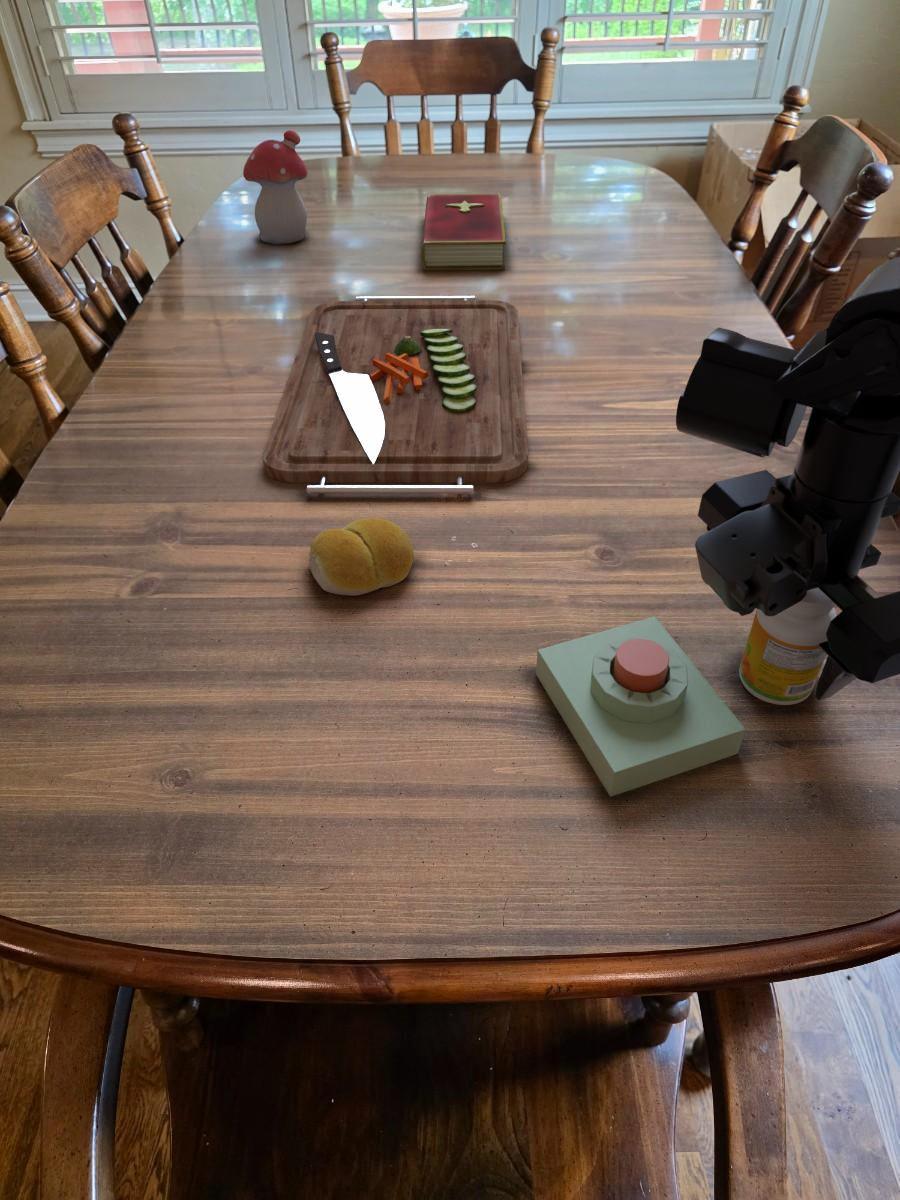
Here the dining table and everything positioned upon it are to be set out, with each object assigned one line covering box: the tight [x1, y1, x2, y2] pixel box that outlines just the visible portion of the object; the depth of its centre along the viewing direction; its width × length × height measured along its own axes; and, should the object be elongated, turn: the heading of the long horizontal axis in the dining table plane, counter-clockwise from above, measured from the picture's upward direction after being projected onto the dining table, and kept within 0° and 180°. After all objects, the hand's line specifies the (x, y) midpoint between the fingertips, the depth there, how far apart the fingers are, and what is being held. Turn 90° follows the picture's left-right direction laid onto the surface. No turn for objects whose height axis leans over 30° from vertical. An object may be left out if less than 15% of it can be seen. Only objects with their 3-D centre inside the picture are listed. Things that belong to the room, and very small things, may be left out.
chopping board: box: [262, 295, 529, 495], centre depth 99 cm, size 45×27×3 cm, turn 179°
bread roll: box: [307, 517, 415, 597], centre depth 75 cm, size 8×9×4 cm
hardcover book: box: [420, 192, 507, 271], centre depth 132 cm, size 12×21×4 cm, turn 179°
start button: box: [613, 639, 669, 693], centre depth 60 cm, size 4×4×2 cm
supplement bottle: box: [738, 588, 838, 706], centre depth 62 cm, size 5×5×10 cm
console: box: [535, 616, 746, 798], centre depth 62 cm, size 10×12×4 cm
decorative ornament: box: [242, 129, 308, 245], centre depth 131 cm, size 9×6×15 cm
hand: (781, 653), depth 64 cm, fingers open, 9 cm apart
